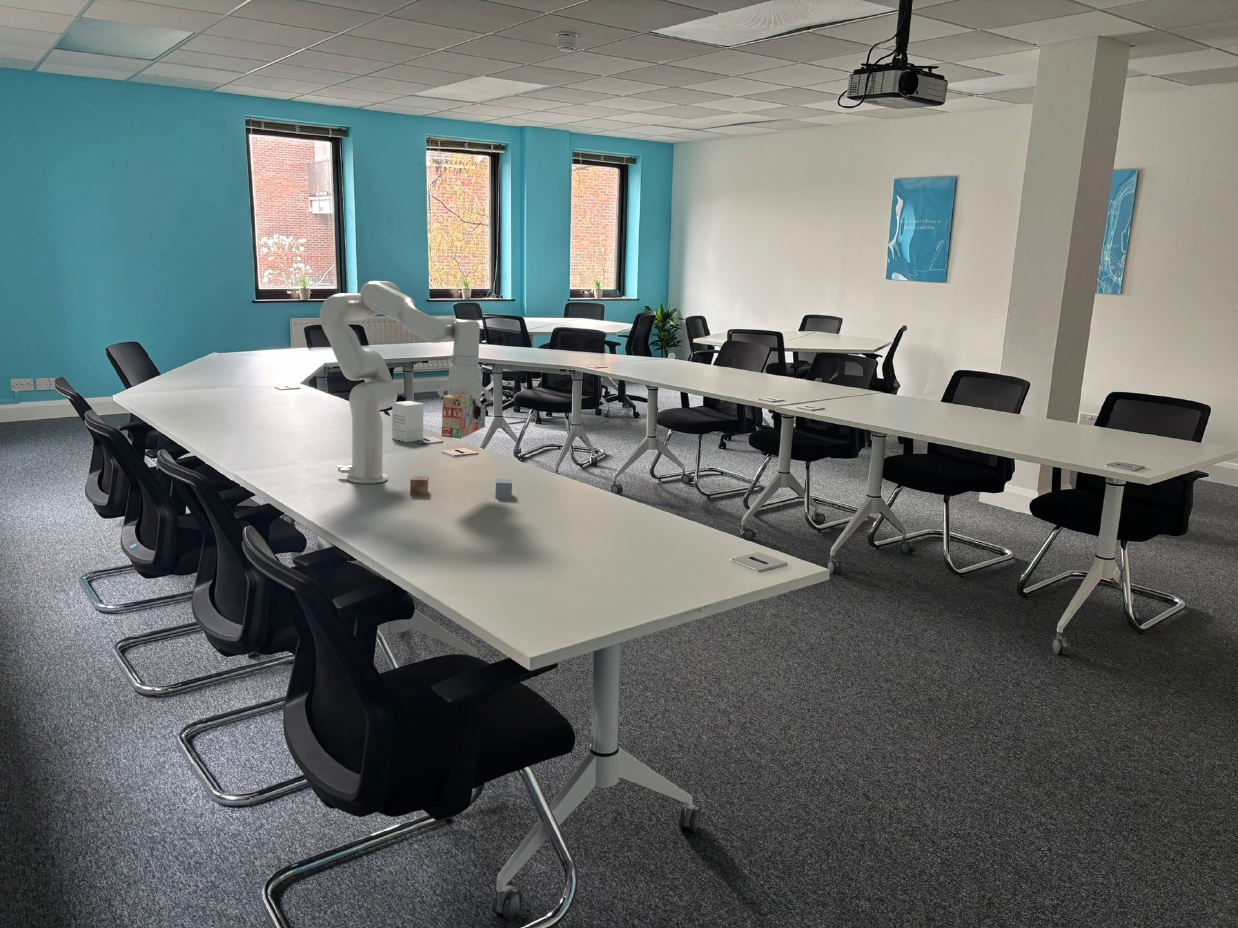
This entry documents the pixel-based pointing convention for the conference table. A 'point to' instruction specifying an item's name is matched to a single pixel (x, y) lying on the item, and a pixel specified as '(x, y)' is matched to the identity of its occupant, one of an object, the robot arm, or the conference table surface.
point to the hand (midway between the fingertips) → (463, 417)
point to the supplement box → (407, 421)
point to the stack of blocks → (460, 416)
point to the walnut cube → (419, 485)
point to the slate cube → (503, 488)
